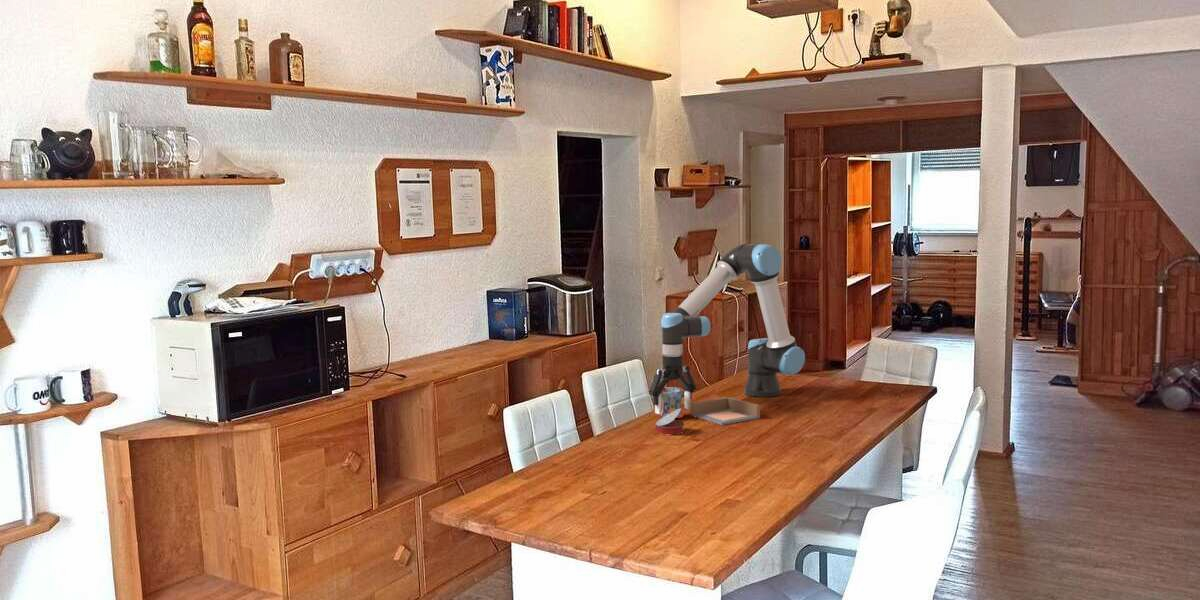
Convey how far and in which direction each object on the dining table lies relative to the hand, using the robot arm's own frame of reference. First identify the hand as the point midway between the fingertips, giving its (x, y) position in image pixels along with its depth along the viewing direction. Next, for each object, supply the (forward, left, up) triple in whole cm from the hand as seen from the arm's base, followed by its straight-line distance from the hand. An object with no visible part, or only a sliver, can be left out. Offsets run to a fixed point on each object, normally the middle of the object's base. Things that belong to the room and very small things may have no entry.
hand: (672, 411), depth 341 cm
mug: (0, 0, -2) cm, 2 cm away
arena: (-15, +12, -2) cm, 19 cm away
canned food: (+14, +17, -3) cm, 22 cm away
